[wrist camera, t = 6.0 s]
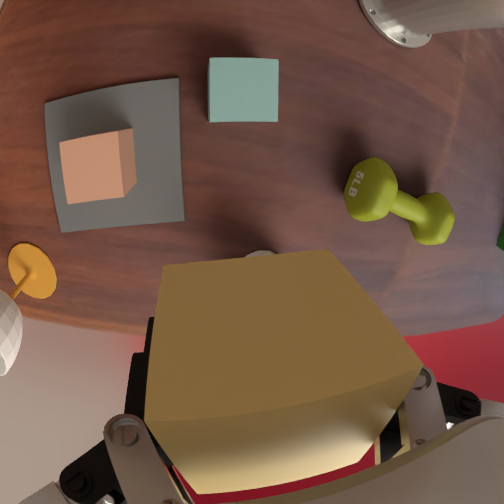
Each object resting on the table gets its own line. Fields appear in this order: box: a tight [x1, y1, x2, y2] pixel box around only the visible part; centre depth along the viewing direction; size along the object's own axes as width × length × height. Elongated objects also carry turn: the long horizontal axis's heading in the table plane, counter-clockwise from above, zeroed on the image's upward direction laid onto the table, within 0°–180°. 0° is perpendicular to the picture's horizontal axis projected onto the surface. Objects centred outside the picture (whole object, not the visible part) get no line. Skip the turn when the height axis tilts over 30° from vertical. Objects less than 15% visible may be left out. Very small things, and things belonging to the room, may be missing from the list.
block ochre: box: [144, 249, 424, 494], centre depth 9 cm, size 6×6×6 cm
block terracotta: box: [59, 128, 137, 204], centre depth 24 cm, size 6×6×6 cm
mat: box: [45, 78, 185, 233], centre depth 27 cm, size 16×16×1 cm
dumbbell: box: [344, 157, 455, 245], centre depth 33 cm, size 16×8×7 cm, turn 71°
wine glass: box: [0, 243, 57, 375], centre depth 24 cm, size 9×9×16 cm
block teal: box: [208, 58, 278, 122], centre depth 24 cm, size 6×6×6 cm
